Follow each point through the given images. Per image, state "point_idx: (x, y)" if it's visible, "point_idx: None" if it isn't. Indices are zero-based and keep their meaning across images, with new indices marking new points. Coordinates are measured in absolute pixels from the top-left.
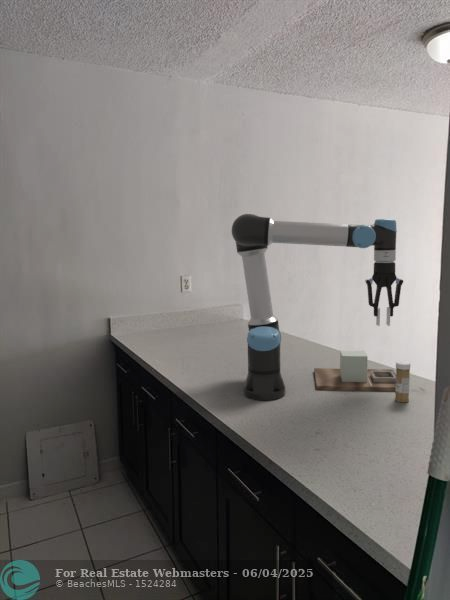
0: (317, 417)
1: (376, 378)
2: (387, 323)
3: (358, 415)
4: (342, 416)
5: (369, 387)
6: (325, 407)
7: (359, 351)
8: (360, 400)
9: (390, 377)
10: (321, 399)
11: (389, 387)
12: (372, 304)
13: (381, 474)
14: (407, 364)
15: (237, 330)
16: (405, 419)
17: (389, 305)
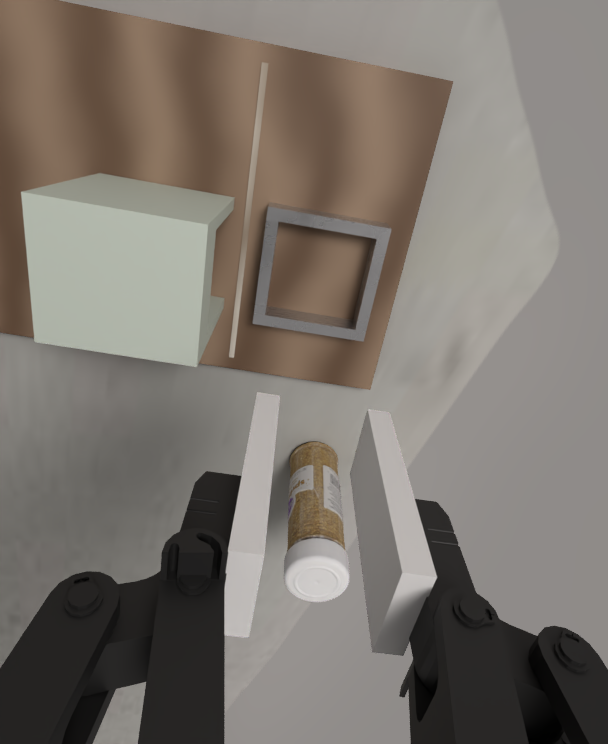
0: (9, 549)
1: (266, 323)
2: (356, 469)
3: (134, 547)
4: (85, 549)
5: (219, 365)
6: (32, 489)
7: (167, 240)
8: (163, 446)
9: (335, 333)
10: (15, 424)
11: (305, 379)
12: (106, 687)
13: (135, 735)
14: (325, 600)
15: None
16: (264, 577)
17: (430, 644)
